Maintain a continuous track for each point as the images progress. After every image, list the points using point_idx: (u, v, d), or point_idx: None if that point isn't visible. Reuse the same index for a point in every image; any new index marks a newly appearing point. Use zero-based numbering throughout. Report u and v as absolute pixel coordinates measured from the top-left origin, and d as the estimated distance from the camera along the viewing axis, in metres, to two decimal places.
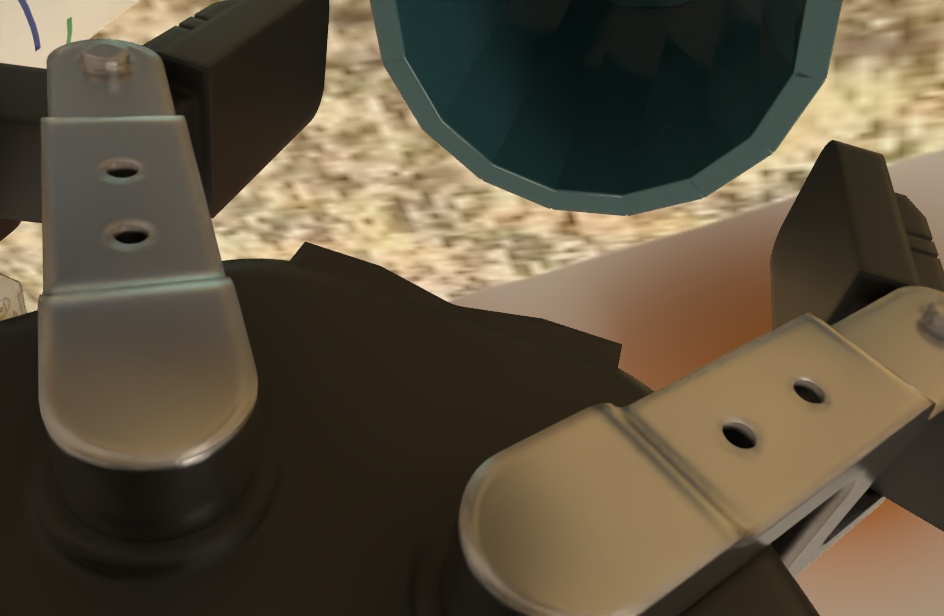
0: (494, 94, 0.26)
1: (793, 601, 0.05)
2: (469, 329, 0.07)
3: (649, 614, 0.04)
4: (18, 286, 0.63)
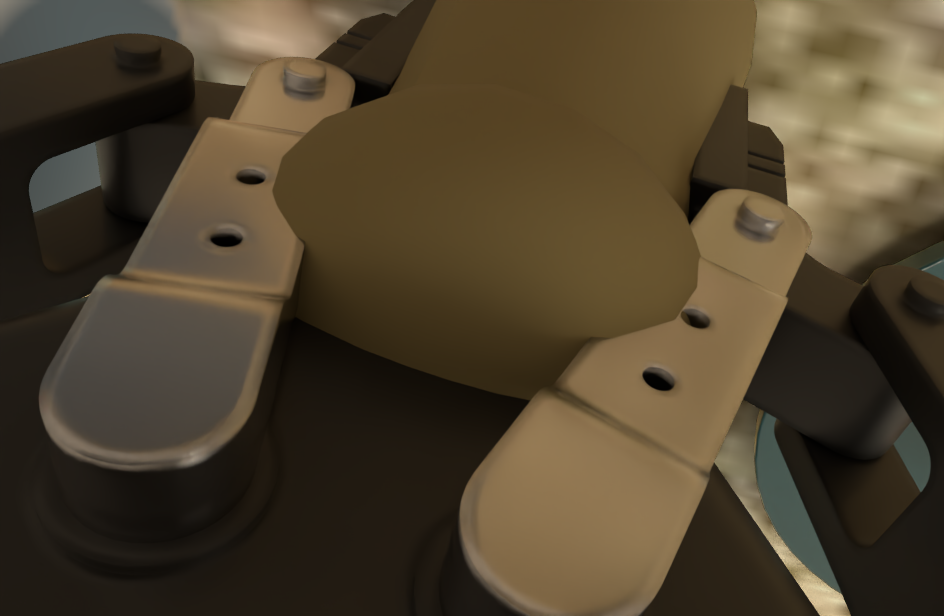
0: None
1: (793, 601, 0.05)
2: None
3: None
4: None
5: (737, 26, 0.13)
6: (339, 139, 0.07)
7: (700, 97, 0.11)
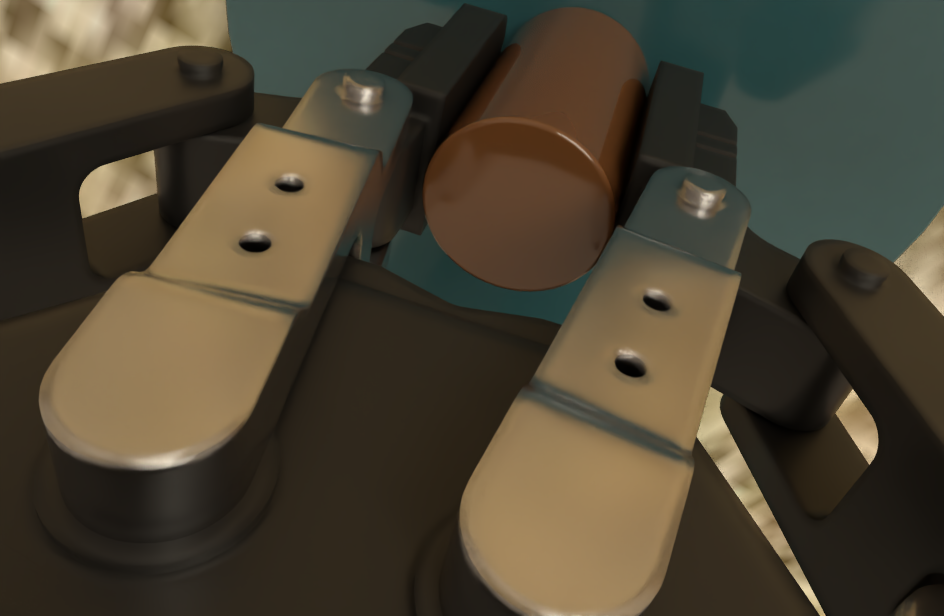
0: None
1: (793, 601, 0.05)
2: (469, 329, 0.07)
3: None
4: None
5: None
6: None
7: None
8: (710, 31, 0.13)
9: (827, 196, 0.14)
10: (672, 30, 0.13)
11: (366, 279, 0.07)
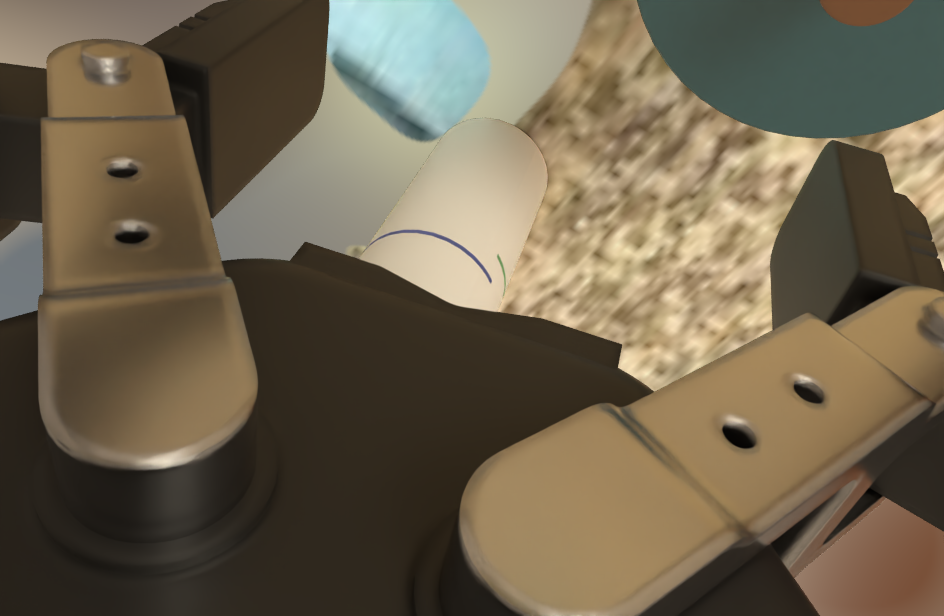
0: None
1: (793, 601, 0.05)
2: (469, 329, 0.07)
3: (649, 614, 0.04)
4: None
5: None
6: None
7: None
8: None
9: None
10: None
11: (366, 279, 0.07)
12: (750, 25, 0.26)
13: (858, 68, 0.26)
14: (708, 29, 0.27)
